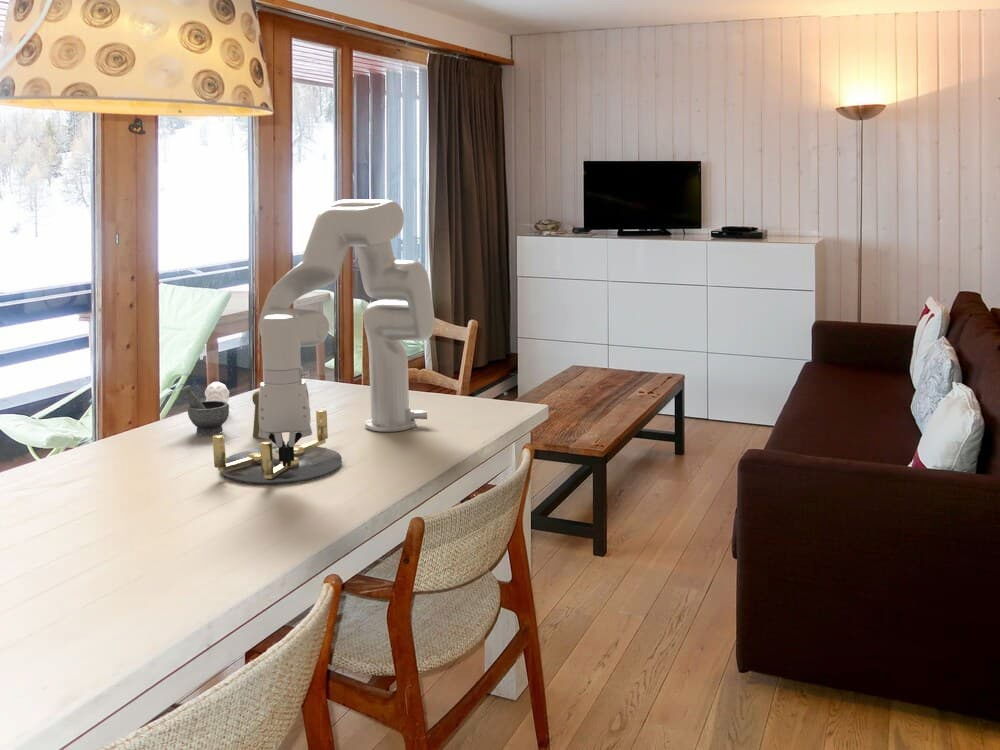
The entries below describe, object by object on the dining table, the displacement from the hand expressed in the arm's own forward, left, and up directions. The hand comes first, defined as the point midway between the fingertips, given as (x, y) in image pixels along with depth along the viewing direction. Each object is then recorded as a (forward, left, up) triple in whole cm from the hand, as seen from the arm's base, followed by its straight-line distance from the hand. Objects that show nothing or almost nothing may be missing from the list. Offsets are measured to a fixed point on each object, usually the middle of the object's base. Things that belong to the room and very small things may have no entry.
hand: (286, 464), depth 208 cm
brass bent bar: (-1, -22, -3) cm, 22 cm away
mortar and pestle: (+26, -45, -5) cm, 52 cm away
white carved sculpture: (+27, -61, -5) cm, 67 cm away
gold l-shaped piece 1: (+11, -10, -3) cm, 16 cm away
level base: (+3, -14, -5) cm, 15 cm away
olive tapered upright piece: (+11, -41, -5) cm, 43 cm away
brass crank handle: (+2, -5, -3) cm, 6 cm away
